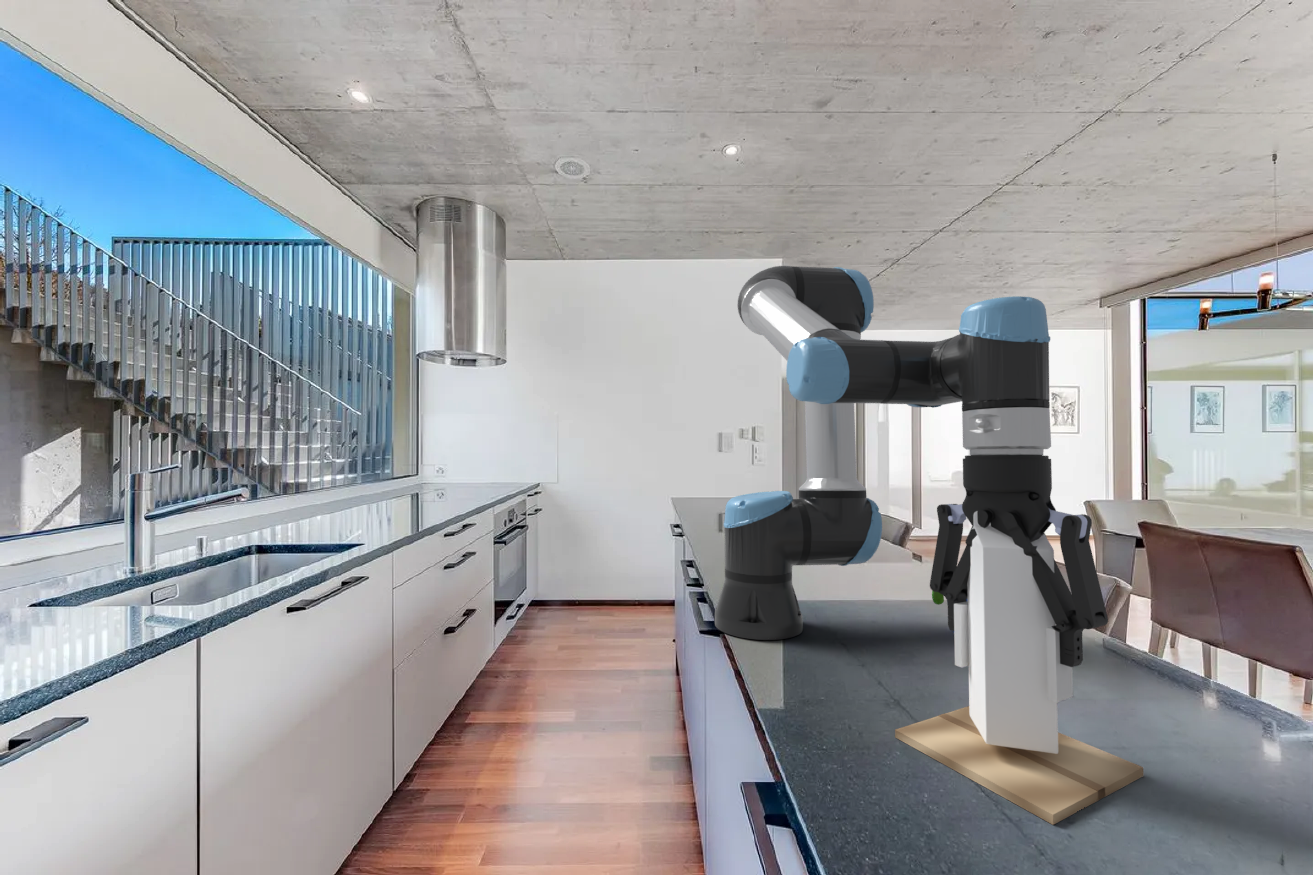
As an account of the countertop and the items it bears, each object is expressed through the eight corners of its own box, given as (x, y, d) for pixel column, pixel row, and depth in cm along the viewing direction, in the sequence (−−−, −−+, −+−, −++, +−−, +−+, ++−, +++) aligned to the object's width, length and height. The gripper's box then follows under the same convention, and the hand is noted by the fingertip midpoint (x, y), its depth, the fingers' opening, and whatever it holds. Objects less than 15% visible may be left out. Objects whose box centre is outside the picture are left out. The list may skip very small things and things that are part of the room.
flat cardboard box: (895, 737, 56) (895, 729, 56) (983, 708, 63) (983, 700, 63) (1053, 824, 43) (1052, 814, 43) (1143, 776, 50) (1143, 766, 50)
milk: (969, 716, 57) (964, 508, 58) (1035, 724, 55) (1028, 510, 56) (986, 745, 51) (980, 513, 52) (1061, 755, 49) (1053, 515, 50)
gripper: (891, 453, 62) (894, 651, 61) (1112, 451, 43) (1120, 738, 42) (934, 453, 65) (937, 641, 64) (1156, 452, 46) (1164, 718, 46)
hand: (1009, 679), depth 53 cm, fingers closed on milk, 8 cm apart
